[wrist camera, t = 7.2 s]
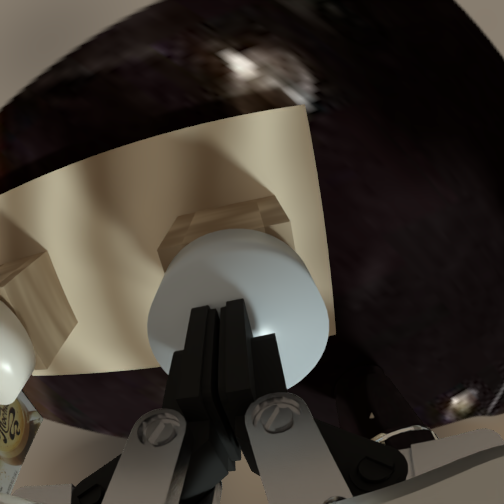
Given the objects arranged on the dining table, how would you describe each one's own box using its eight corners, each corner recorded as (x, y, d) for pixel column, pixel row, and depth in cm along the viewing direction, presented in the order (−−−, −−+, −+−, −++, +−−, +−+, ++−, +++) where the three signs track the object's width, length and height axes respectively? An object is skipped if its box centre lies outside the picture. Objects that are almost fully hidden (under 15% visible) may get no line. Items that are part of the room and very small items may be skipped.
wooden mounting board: (298, 106, 17) (333, 94, 10) (330, 321, 22) (359, 386, 16) (-29, 210, 17) (-86, 239, 11) (40, 364, 22) (8, 416, 16)
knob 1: (48, 244, 17) (-26, 304, 10) (84, 327, 19) (36, 407, 12) (-10, 262, 17) (-77, 316, 10) (24, 335, 19) (-25, 401, 12)
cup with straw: (340, 429, 26) (394, 617, 8) (285, 383, 24) (333, 642, 5) (418, 379, 25) (515, 560, 6) (379, 320, 22) (519, 570, 3)
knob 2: (282, 187, 16) (318, 234, 9) (299, 291, 18) (333, 383, 11) (166, 213, 16) (120, 275, 9) (196, 312, 18) (181, 409, 12)
